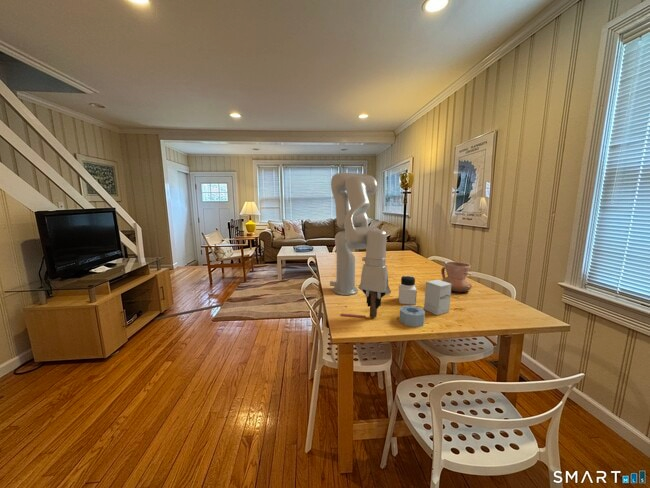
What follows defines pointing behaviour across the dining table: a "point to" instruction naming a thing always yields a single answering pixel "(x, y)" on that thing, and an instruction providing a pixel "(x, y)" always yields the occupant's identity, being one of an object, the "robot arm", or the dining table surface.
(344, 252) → the robot arm
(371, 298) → the needle
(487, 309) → the dining table surface
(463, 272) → the ceramic jug
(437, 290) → the supplement box
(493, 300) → the dining table surface
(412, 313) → the bead
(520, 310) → the dining table surface
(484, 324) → the dining table surface
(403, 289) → the medicine bottle
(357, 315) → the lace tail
